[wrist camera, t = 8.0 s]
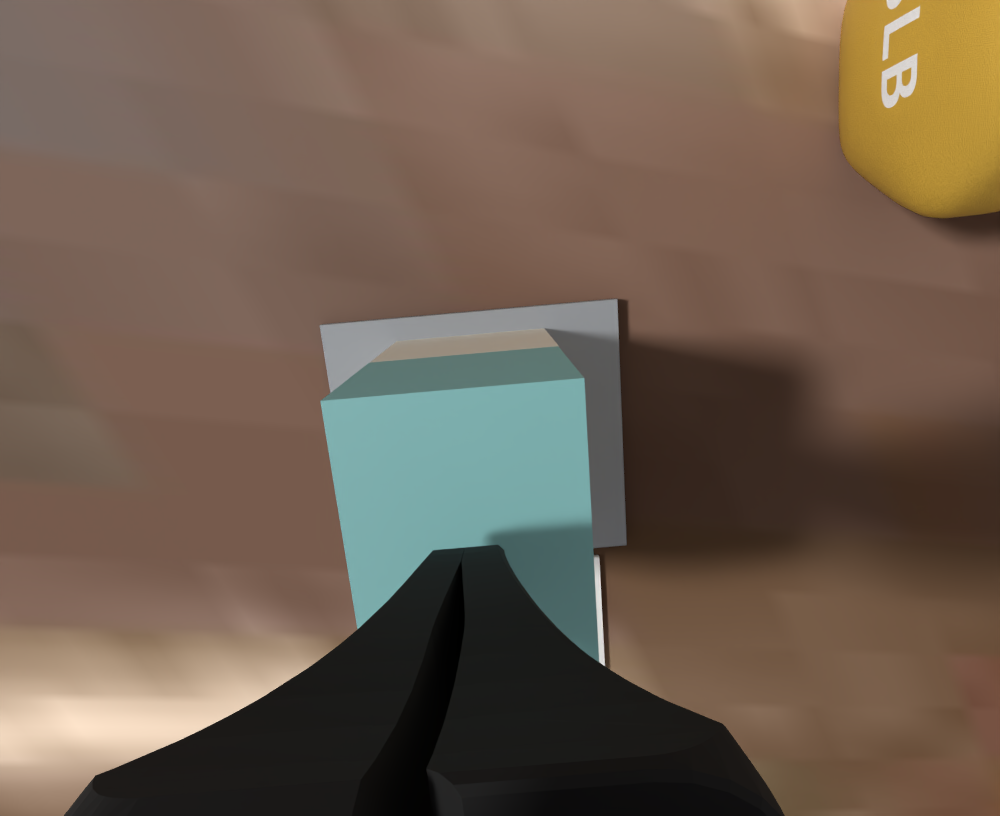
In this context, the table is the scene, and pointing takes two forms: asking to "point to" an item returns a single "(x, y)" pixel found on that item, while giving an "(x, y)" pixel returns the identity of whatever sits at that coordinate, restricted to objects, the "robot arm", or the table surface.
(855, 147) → the dumbbell
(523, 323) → the build board
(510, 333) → the brick cream
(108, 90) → the table surface
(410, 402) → the brick teal
